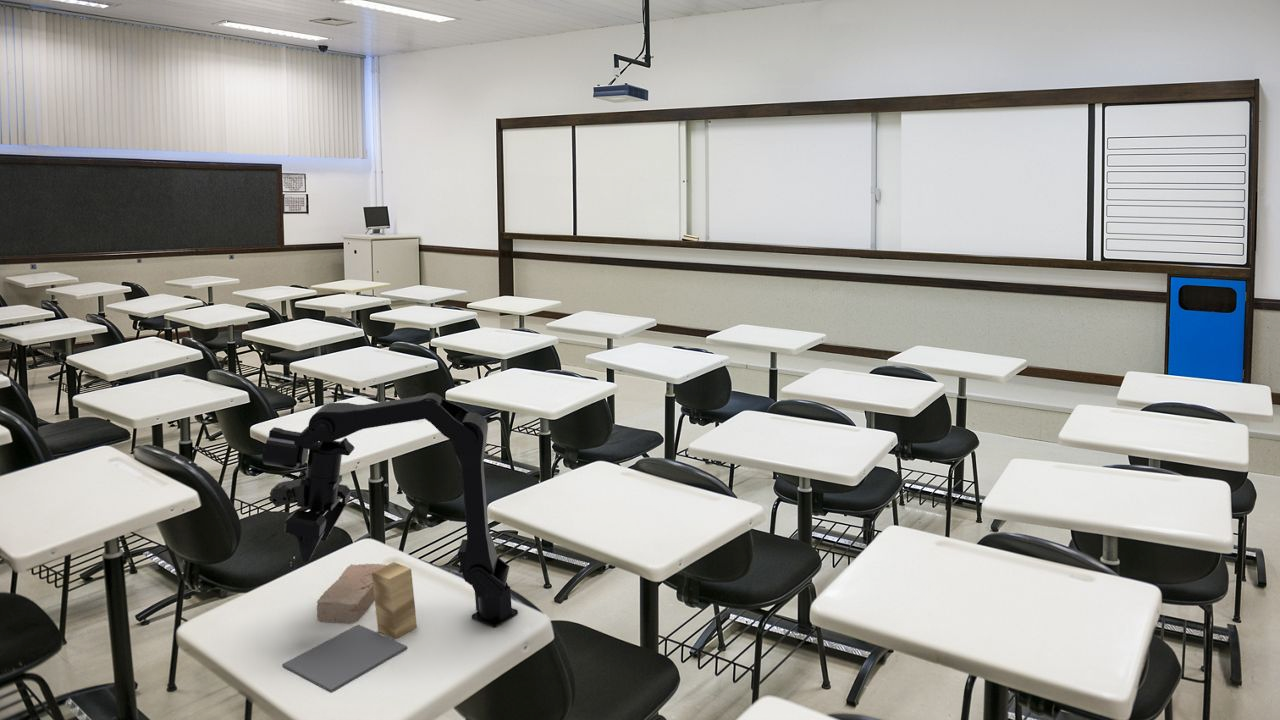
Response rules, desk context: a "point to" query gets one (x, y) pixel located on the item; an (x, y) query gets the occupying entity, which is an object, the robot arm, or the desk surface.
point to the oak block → (394, 600)
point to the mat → (344, 657)
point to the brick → (348, 595)
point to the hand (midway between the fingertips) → (314, 550)
